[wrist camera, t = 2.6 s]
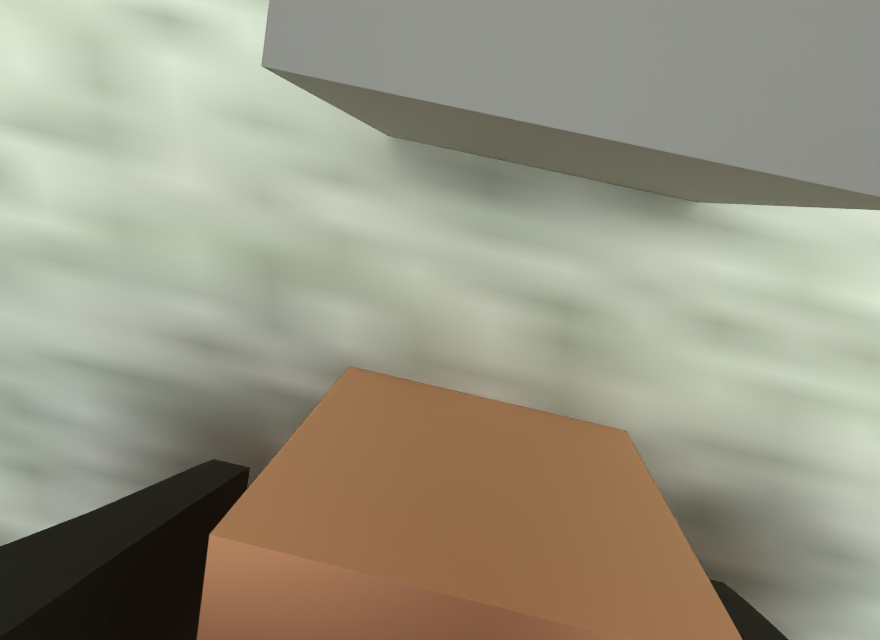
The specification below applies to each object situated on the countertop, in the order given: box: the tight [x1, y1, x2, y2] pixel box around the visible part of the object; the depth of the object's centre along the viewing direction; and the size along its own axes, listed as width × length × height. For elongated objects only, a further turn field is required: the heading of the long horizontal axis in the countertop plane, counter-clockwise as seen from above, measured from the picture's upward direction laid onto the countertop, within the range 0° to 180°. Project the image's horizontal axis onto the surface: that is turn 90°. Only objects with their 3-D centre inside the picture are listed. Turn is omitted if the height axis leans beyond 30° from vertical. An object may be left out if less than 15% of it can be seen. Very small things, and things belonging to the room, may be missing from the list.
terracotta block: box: [197, 366, 742, 640], centre depth 8 cm, size 5×5×5 cm
